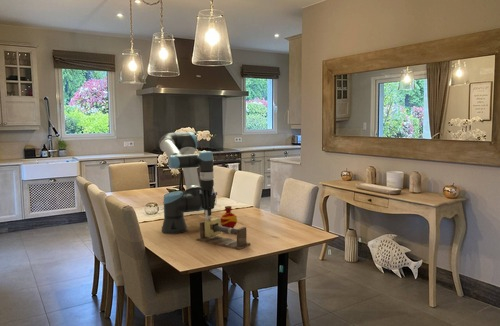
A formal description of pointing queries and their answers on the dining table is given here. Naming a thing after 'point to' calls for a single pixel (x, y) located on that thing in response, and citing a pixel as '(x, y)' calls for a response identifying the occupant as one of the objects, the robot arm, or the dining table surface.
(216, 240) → the pipe rig
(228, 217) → the potion bottle
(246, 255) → the dining table surface
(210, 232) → the collar
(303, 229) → the dining table surface
